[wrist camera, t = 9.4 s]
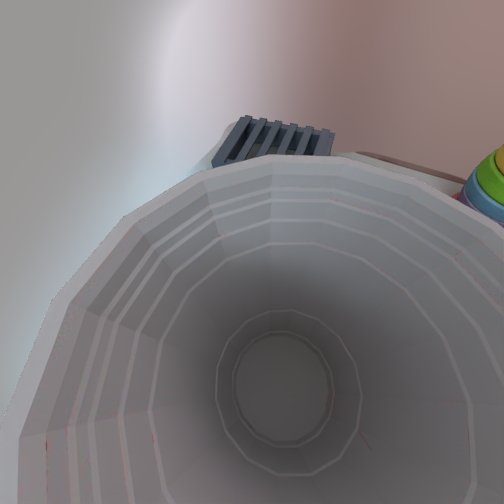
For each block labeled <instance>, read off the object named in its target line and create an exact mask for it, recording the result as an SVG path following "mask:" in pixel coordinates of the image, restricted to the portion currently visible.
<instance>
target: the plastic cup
mask: <svg viewBox="0 0 504 504" xmlns="http://www.w3.org/2000/svg"><path fill="white" fill-rule="evenodd" d="M0 504H504V228H503V227H502V226H500V225H499V224H498V223H496V222H494V221H493V220H491V219H489V218H487V217H486V216H484V215H482V214H480V213H478V212H477V211H475V210H473V209H471V208H469V207H468V206H466V205H464V204H462V203H461V202H459V201H457V200H455V199H453V198H452V197H450V196H448V195H446V194H445V193H443V192H441V191H439V190H437V189H436V188H434V187H432V186H430V185H428V184H427V183H425V182H423V181H421V180H420V179H417V178H414V177H411V176H407V175H404V174H400V173H397V172H393V171H390V170H386V169H383V168H380V167H376V166H373V165H369V164H366V163H362V162H359V161H355V160H352V159H349V158H345V157H336V156H304V155H273V154H268V155H264V156H260V157H256V158H252V159H248V160H245V161H241V162H237V163H233V164H229V165H225V166H221V167H217V168H213V169H209V170H205V171H201V172H197V173H195V174H193V175H191V176H190V177H188V178H186V179H185V180H183V181H182V182H180V183H178V184H177V185H175V186H173V187H172V188H170V189H169V190H167V191H165V192H163V193H162V194H160V195H159V196H157V197H155V198H154V199H152V200H150V201H149V202H147V203H145V204H144V205H142V206H140V207H139V208H137V209H136V210H134V211H132V212H131V213H129V214H127V215H126V216H124V217H123V218H122V219H121V220H120V221H119V223H118V224H117V225H116V226H115V227H114V228H113V230H112V231H111V232H110V233H109V234H108V235H107V236H106V238H105V239H104V240H103V241H102V242H101V243H100V245H99V246H98V247H97V248H96V249H95V250H94V252H93V253H92V254H91V255H90V256H89V257H88V259H87V260H86V261H85V262H84V263H83V264H82V266H81V267H80V268H79V269H78V270H77V272H76V273H75V274H74V275H73V276H72V278H70V280H69V281H68V282H67V283H66V284H65V285H64V287H63V288H62V289H61V290H60V291H59V292H58V294H57V295H56V296H55V297H54V298H53V299H52V301H51V303H50V306H49V308H48V311H47V313H46V316H45V318H44V321H43V323H42V325H41V328H40V330H39V333H38V335H37V338H36V340H35V342H34V345H33V347H32V350H31V352H30V355H29V357H28V360H27V362H26V364H25V367H24V369H23V372H22V374H21V377H20V379H19V381H18V384H17V386H16V389H15V391H14V393H13V396H12V398H11V401H10V404H9V406H8V408H7V410H6V413H5V416H4V418H3V421H2V423H1V425H0Z"/></svg>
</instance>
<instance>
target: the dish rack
mask: <svg viewBox="0 0 504 504" xmlns="http://www.w3.org/2000/svg"><path fill="white" fill-rule="evenodd" d="M297 126H298V125H297V124H293V123H290V125H285V124H282V121H277V120H275V122H268V121H267V119H265V118H260V119H259V120H257V119H252V116H248V115H246V116H245V117H240V119H239V121H238V122H237V123H236V125H235V126H234V128H233V129H232V131H231V132H230V134H229V135H228V137H227V138H226V140H225V141H224V143H223V144H222V146H221V147H220V149H219V150H218V152H217V153H216V155H215V156H214V158H213V159H212V161H211V162H212V167H213V168H217V167H221V166H225V165H229V164H233V163H237V162H241V161H245V159H246V157H247V155H248V154H249V152H250V150H251V148H252V147H253V145H254V143H259V144H262V146H261V148H260V150H259V152H258V153H257V155H256V157H260V156H264V155H266V154H267V152H268V150H269V148H270V146H275V147H279V148H278V150H277V153H276V155H285V153H286V151H287V149H290V150H295V151H296V152H295V154H294V155H303V154H304V152H305V153H310V154H313V156H329V154H330V151H331V147H332V143H333V140H334V136H335V133H330V130H328V129H322V131H319V130H314V127H311V126H306V128H301V127H297ZM245 142H246V143H245ZM244 143H245V144H244ZM243 145H244V146H243ZM242 147H243V148H242ZM241 148H242V149H241ZM240 150H241V151H240ZM239 152H240V153H239ZM238 153H239V154H238ZM237 155H238V156H237ZM236 157H237V158H236ZM256 157H255V158H256ZM235 158H236V159H235Z"/></svg>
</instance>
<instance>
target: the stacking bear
mask: <svg viewBox="0 0 504 504" xmlns="http://www.w3.org/2000/svg"><path fill="white" fill-rule="evenodd" d="M452 198H453V199H455V200H457V201H459V202H461V203H462V204H464V205H466V206H468V207H469V208H471V209H473V210H475V211H477V212H478V213H480V214H482V215H484V216H486V217H487V218H489V219H491V220H493V221H494V222H496V223H498V224H499V225H500V226H502V227H503V228H504V145H503V146H501V147H500V148H499V149H497V150H495V151H494V152H493V153H491V154H490V155H489V156H487V157H486V158H485V159H484V160H483V161H482V162H481V163H480V164H479V165H478V166H477V167H476V168H475V170H474V171H473V172H472V174H471V175H470V176H469V178H468V180H467V182H466V183H465V185H464V186H463V188H462V190H461V192H459V193H457V194H455V195H454V196H452Z"/></svg>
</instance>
